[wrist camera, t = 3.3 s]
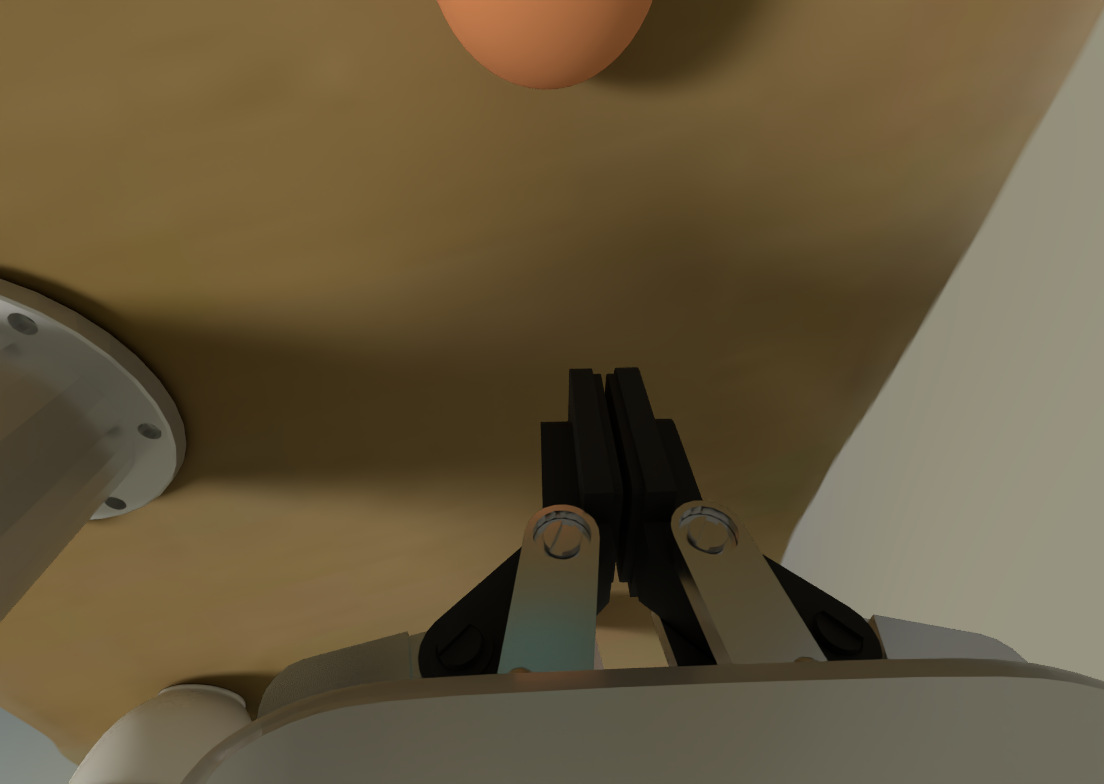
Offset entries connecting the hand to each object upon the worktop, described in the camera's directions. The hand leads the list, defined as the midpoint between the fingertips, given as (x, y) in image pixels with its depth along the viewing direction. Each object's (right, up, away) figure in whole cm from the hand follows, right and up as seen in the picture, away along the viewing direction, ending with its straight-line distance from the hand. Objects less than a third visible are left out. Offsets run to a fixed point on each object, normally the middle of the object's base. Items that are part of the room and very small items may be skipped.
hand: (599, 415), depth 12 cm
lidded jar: (-28, -23, +25) cm, 44 cm away
